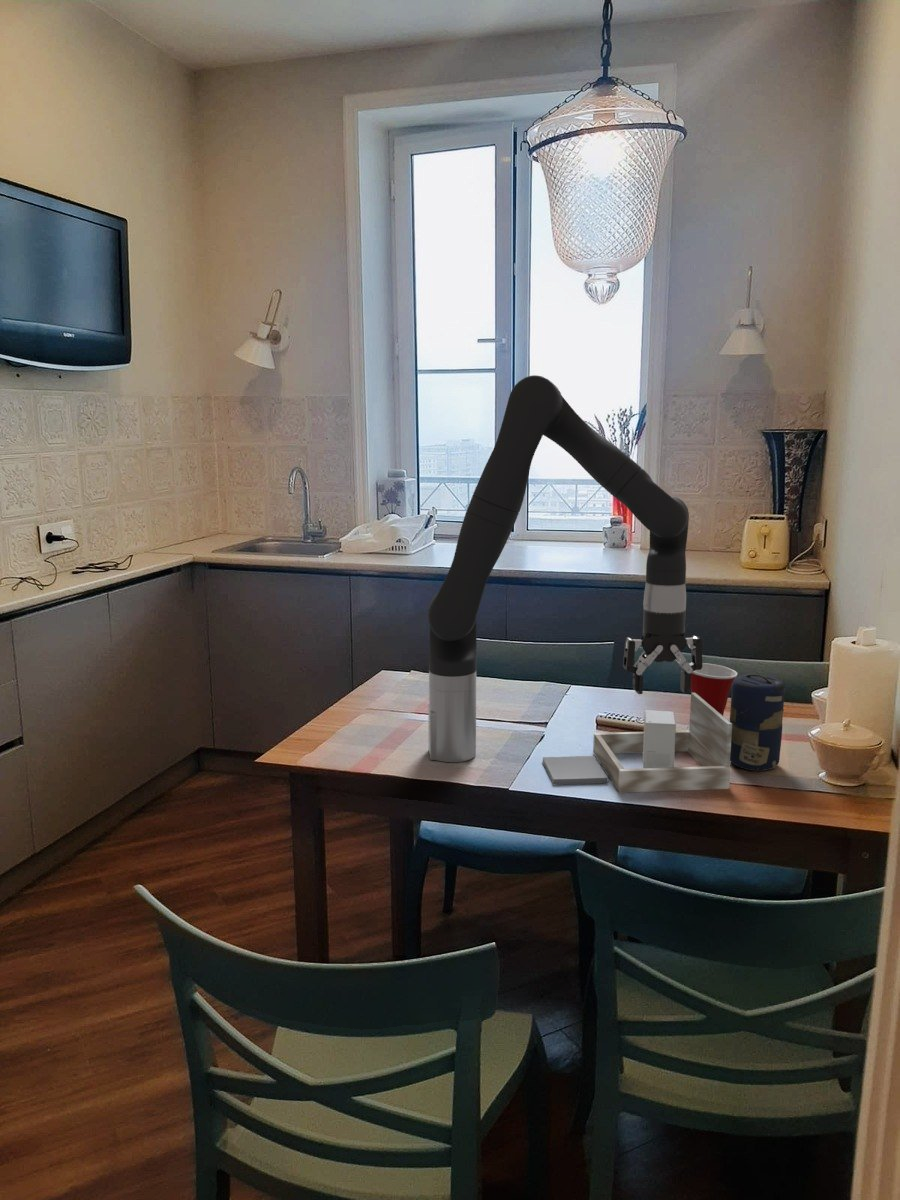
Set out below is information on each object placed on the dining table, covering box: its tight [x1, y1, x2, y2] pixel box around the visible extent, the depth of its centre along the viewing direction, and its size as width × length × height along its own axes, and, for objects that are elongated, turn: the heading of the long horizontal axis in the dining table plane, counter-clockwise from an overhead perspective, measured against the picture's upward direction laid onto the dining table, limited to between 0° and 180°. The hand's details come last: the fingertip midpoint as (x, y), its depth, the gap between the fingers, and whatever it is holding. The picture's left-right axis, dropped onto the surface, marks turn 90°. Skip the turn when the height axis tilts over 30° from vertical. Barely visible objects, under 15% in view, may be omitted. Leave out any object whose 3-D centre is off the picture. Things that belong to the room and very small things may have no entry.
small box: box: [642, 709, 677, 768], centre depth 168 cm, size 8×6×10 cm
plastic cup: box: [690, 662, 738, 717], centre depth 196 cm, size 11×11×12 cm
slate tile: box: [542, 755, 609, 785], centre depth 168 cm, size 10×11×1 cm
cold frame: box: [592, 692, 732, 793], centre depth 168 cm, size 20×20×12 cm
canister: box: [729, 673, 786, 771], centre depth 170 cm, size 10×10×18 cm
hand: (661, 692), depth 166 cm, fingers open, 8 cm apart
